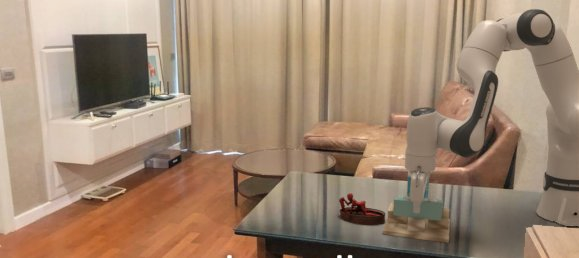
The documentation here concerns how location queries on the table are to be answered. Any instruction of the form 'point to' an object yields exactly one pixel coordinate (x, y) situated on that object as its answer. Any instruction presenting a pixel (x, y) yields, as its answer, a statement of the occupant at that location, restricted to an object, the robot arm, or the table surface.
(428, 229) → the display stand
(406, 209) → the teal c-shaped bracket
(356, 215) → the figurine
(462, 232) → the table surface
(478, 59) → the robot arm
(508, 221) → the table surface
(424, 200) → the pill bottle
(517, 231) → the table surface
